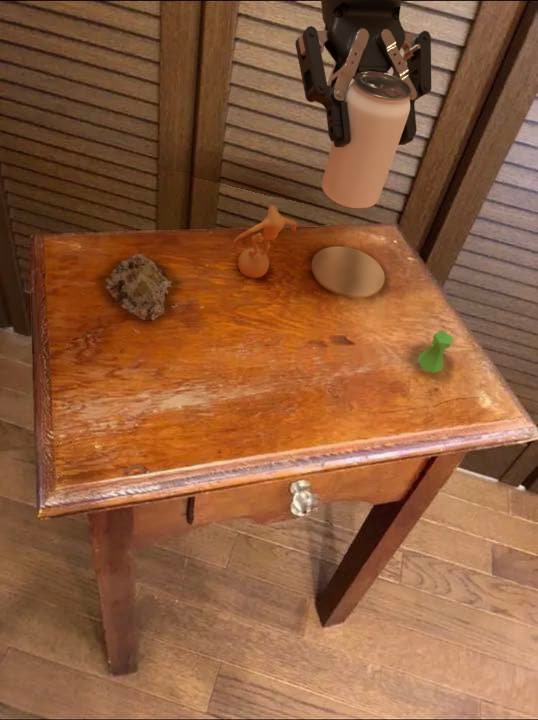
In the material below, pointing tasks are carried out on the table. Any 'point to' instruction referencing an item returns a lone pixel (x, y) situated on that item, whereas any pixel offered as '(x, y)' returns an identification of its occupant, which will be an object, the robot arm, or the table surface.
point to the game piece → (435, 352)
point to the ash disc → (347, 272)
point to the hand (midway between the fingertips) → (374, 143)
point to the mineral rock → (140, 287)
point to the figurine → (255, 259)
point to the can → (367, 140)
